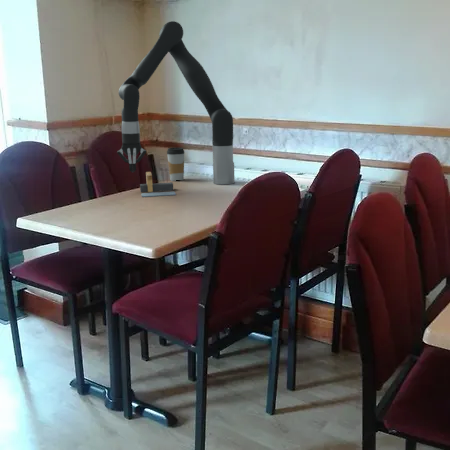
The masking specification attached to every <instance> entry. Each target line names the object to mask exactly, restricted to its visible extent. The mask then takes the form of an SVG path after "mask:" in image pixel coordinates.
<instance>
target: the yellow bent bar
mask: <svg viewBox="0 0 450 450" xmlns="http://www.w3.org/2000/svg"><path fill="white" fill-rule="evenodd" d="M145 179H146V184H148V192H147V193H154V192H153V187H152V183H153V175H152V172H151V171H146V172H145Z"/></svg>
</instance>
